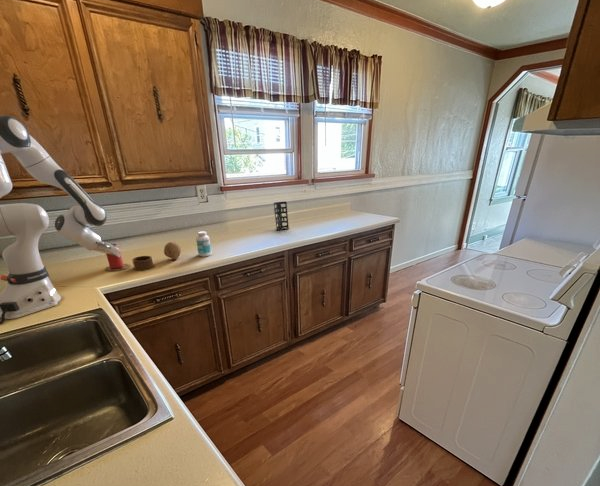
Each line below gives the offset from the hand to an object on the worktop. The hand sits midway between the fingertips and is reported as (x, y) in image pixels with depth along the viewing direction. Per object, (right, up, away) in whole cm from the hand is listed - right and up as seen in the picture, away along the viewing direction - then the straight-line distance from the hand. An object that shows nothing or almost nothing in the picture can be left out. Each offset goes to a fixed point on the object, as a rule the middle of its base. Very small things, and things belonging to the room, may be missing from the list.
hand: (115, 255), depth 172 cm
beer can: (0, -6, +3) cm, 7 cm away
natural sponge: (+26, 0, +15) cm, 30 cm away
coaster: (0, -6, +3) cm, 7 cm away
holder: (+84, +37, +81) cm, 122 cm away
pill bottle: (+41, +4, +22) cm, 47 cm away
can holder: (+14, -6, +3) cm, 16 cm away
